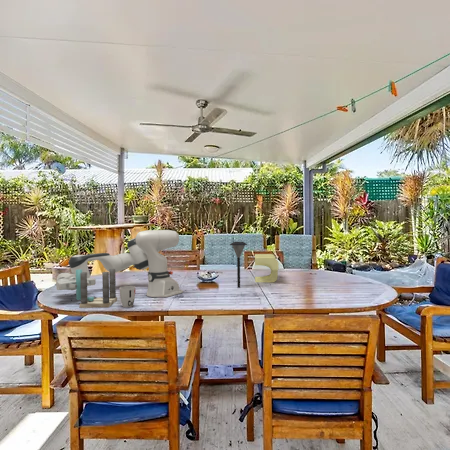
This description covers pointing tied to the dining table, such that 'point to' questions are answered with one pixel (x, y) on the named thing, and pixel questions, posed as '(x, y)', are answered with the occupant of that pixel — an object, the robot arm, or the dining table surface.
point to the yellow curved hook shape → (267, 261)
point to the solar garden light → (238, 257)
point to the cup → (127, 296)
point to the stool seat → (105, 300)
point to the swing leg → (78, 289)
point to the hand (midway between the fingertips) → (82, 285)
